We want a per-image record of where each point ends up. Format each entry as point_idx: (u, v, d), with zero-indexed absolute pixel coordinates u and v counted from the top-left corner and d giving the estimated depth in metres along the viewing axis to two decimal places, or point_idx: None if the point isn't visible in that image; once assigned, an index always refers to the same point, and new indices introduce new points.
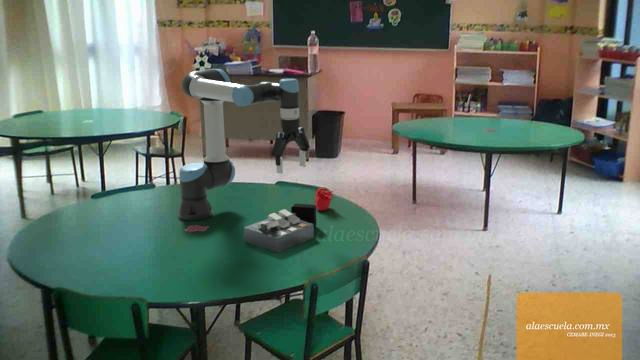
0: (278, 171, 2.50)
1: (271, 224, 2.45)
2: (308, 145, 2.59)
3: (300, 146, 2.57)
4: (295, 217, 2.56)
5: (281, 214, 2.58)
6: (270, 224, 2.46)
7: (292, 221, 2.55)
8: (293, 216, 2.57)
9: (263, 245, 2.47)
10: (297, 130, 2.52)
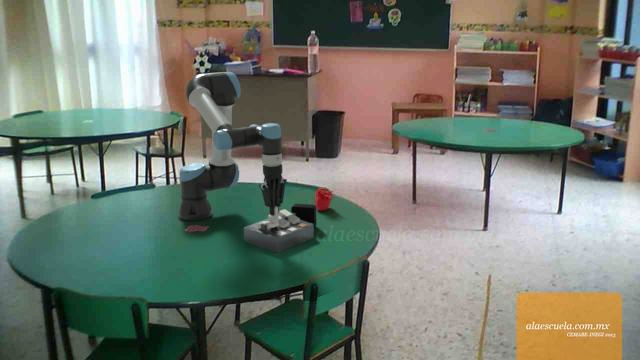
0: (272, 221, 2.46)
1: (271, 224, 2.45)
2: (282, 200, 2.46)
3: None
4: (295, 217, 2.56)
5: (281, 214, 2.58)
6: (270, 224, 2.46)
7: (292, 221, 2.55)
8: (293, 216, 2.57)
9: (263, 245, 2.47)
10: (280, 176, 2.43)
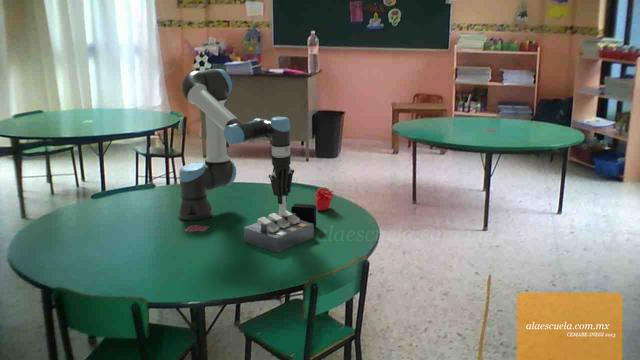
0: (280, 209, 2.59)
1: (271, 229, 2.46)
2: (289, 189, 2.59)
3: None
4: (295, 217, 2.56)
5: (281, 214, 2.58)
6: (270, 228, 2.46)
7: (292, 221, 2.55)
8: (293, 216, 2.57)
9: (263, 245, 2.47)
10: (288, 167, 2.56)
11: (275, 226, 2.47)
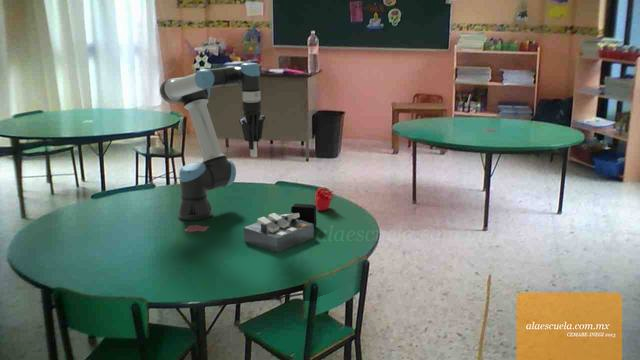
0: (251, 155, 2.65)
1: (271, 229, 2.46)
2: (260, 135, 2.64)
3: None
4: (294, 213, 2.56)
5: None
6: (270, 228, 2.46)
7: (292, 216, 2.54)
8: (293, 214, 2.57)
9: (263, 245, 2.47)
10: (259, 113, 2.62)
11: (275, 226, 2.47)
